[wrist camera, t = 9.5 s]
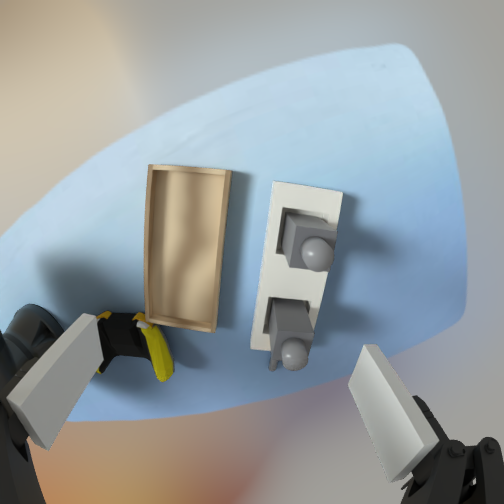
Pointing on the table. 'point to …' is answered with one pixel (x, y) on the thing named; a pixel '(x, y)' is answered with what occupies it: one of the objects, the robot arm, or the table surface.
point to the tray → (184, 245)
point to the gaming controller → (134, 341)
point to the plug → (308, 242)
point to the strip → (274, 261)
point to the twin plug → (290, 332)
